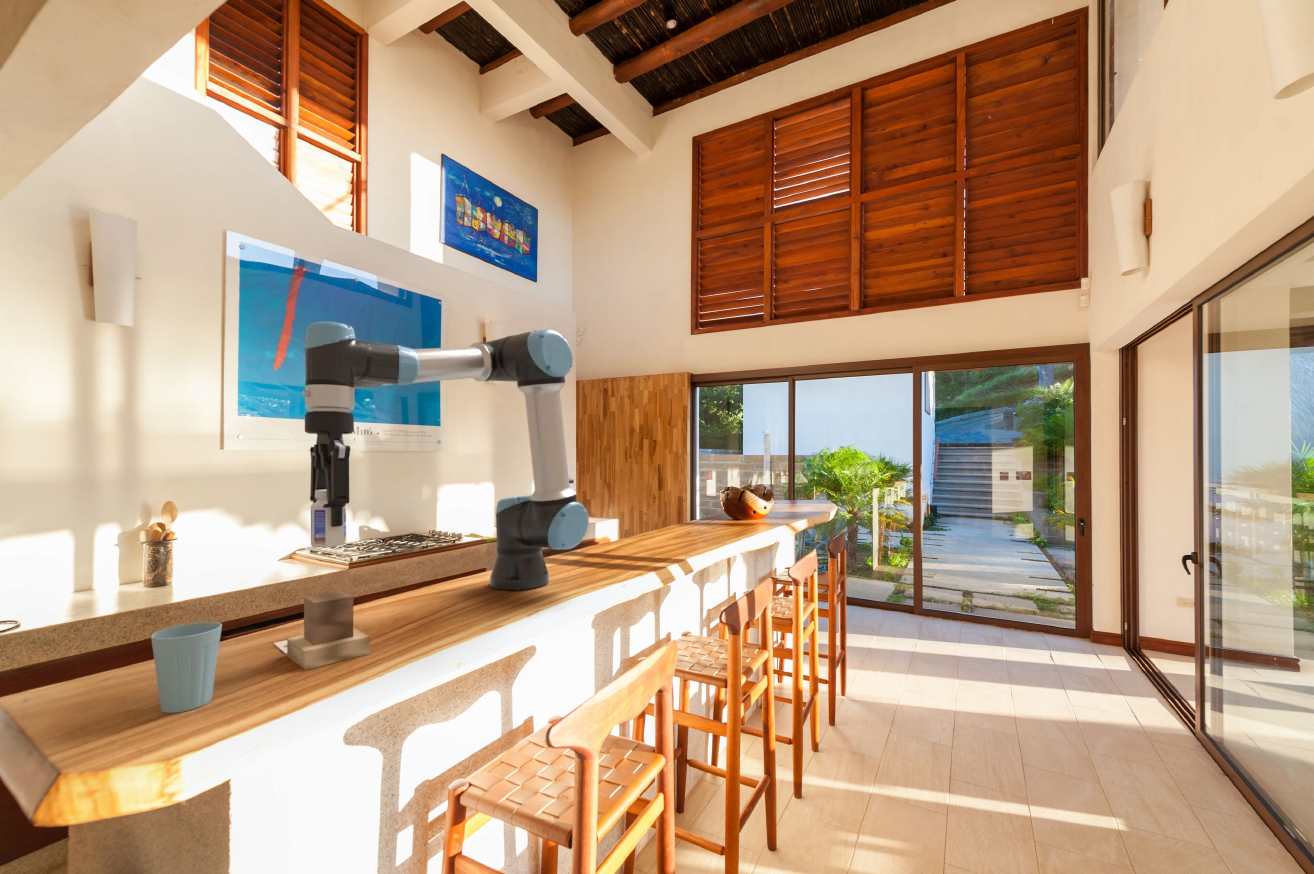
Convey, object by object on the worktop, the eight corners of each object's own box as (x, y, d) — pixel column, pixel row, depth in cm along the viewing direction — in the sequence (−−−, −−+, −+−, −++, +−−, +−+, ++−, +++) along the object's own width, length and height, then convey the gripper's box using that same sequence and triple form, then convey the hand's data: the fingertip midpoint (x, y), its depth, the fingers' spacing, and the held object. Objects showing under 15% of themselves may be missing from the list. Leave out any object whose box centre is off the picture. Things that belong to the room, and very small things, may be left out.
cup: (134, 715, 77) (135, 636, 77) (190, 691, 85) (191, 620, 85) (182, 719, 76) (183, 639, 76) (234, 694, 83) (235, 622, 84)
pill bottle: (352, 544, 101) (352, 489, 101) (321, 548, 97) (321, 490, 97) (335, 542, 104) (335, 488, 104) (303, 546, 99) (304, 490, 100)
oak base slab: (349, 641, 107) (349, 624, 107) (369, 653, 100) (369, 636, 100) (287, 655, 99) (287, 638, 99) (304, 670, 92) (304, 651, 92)
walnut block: (341, 629, 104) (341, 590, 104) (353, 636, 100) (353, 596, 100) (304, 637, 99) (304, 597, 100) (314, 645, 95) (314, 602, 95)
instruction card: (333, 631, 113) (333, 629, 113) (347, 639, 107) (347, 638, 107) (273, 644, 105) (273, 642, 105) (285, 654, 100) (285, 652, 100)
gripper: (290, 413, 105) (289, 541, 104) (322, 406, 92) (321, 552, 91) (335, 415, 110) (335, 536, 109) (371, 409, 97) (371, 546, 97)
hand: (328, 543), depth 100 cm, fingers closed on pill bottle, 5 cm apart
